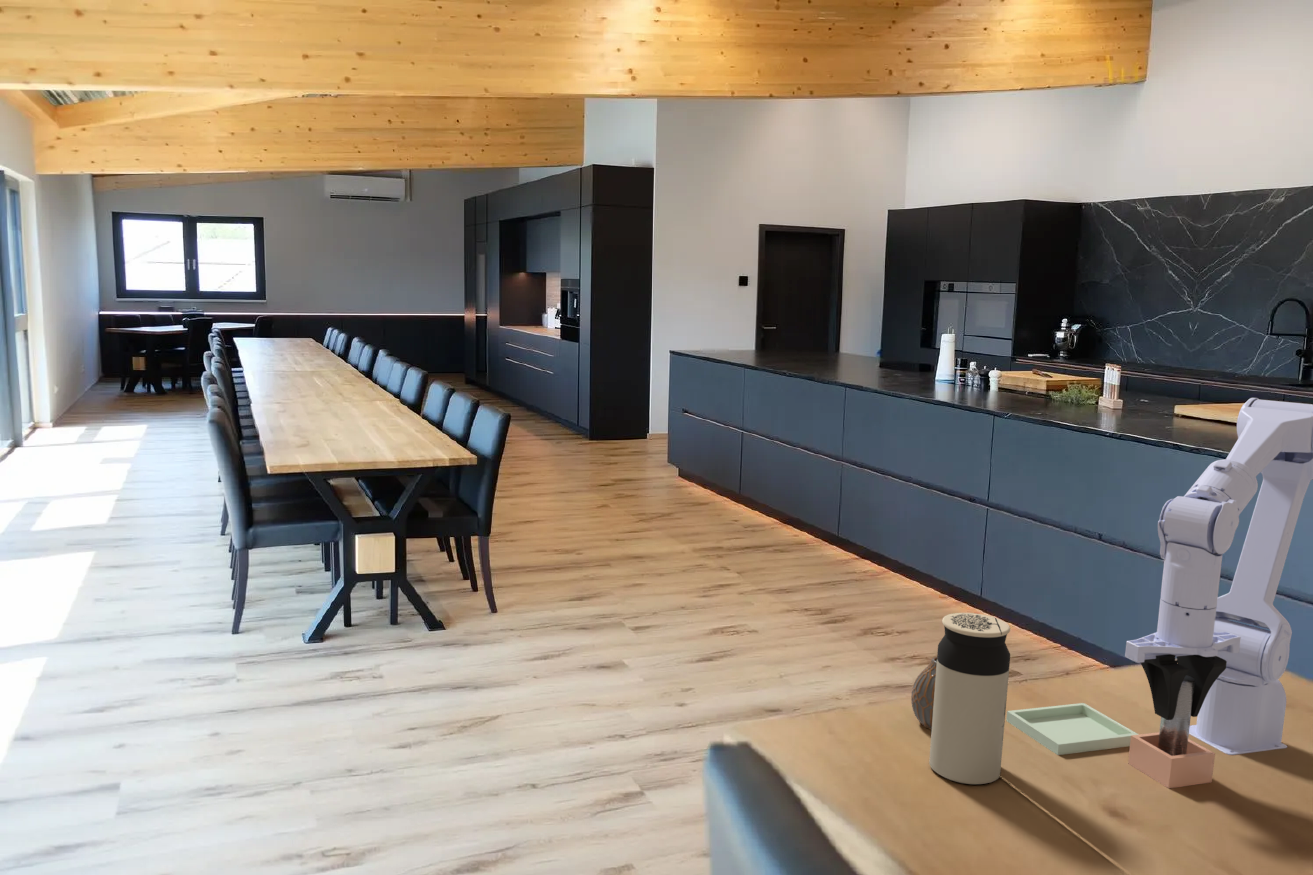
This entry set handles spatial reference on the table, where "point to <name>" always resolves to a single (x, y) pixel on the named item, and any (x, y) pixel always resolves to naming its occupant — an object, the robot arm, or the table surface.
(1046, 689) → the table surface
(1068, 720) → the tray
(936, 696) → the travel mug
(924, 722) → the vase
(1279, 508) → the robot arm
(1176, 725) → the dowel
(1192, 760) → the salmon open box
